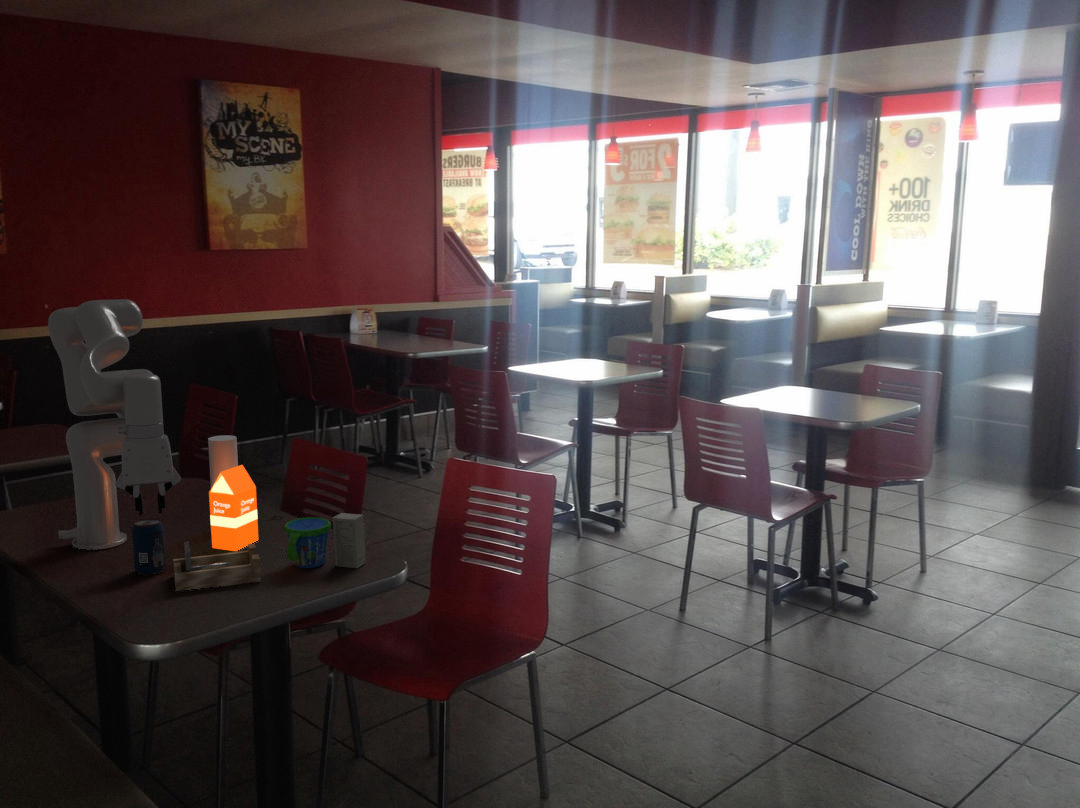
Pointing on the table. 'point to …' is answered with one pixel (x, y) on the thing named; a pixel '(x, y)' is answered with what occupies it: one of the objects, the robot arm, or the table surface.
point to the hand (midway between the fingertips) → (150, 511)
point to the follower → (200, 567)
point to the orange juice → (233, 510)
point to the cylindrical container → (221, 455)
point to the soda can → (149, 546)
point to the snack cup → (307, 541)
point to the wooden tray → (219, 570)
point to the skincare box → (349, 540)
